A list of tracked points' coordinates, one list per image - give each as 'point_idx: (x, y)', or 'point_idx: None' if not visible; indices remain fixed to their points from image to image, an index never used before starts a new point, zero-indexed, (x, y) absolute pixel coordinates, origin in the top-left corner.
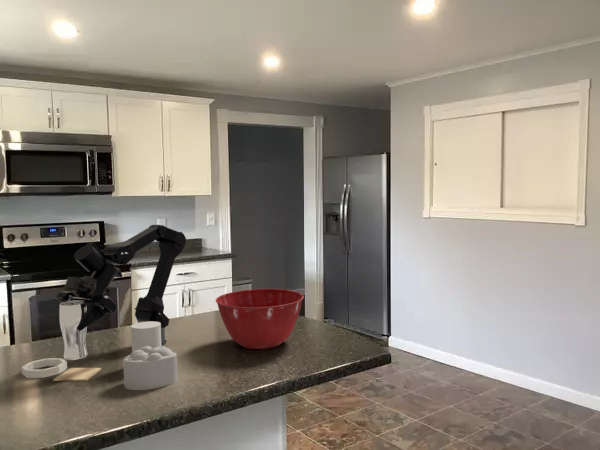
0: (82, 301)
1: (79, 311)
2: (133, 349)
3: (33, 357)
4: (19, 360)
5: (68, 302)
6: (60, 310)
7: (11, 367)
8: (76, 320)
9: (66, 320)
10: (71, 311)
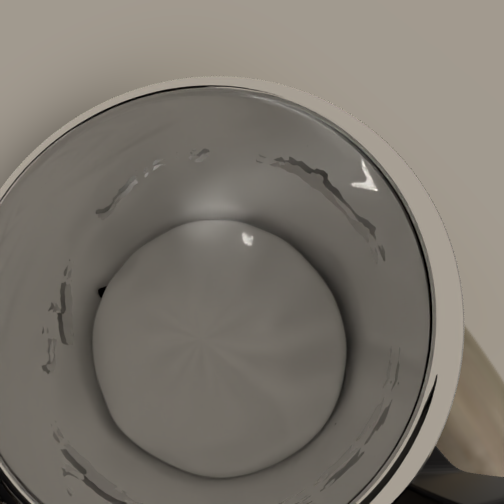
0: (21, 480)
1: (61, 229)
2: None
3: (480, 464)
4: (498, 430)
5: (374, 464)
6: (292, 154)
7: (488, 380)
8: (128, 244)
9: (209, 208)
10: (124, 161)
